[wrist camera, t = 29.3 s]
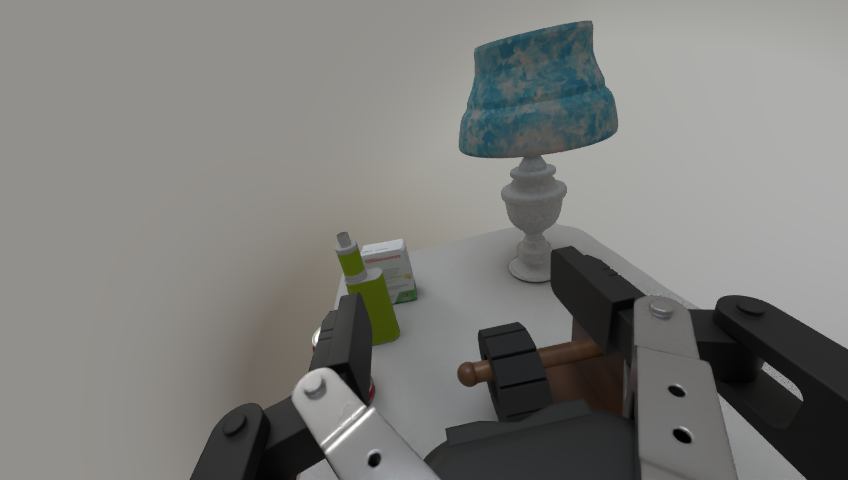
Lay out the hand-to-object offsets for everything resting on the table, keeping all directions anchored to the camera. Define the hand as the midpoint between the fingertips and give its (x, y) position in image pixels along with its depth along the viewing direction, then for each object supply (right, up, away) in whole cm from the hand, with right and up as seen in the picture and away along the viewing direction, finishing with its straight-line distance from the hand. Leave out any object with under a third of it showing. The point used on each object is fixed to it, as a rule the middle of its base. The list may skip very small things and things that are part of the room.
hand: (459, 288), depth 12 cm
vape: (-9, -15, +40) cm, 43 cm away
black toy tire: (+9, -17, +22) cm, 29 cm away
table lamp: (+21, -4, +49) cm, 53 cm away
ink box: (-7, -10, +49) cm, 50 cm away
